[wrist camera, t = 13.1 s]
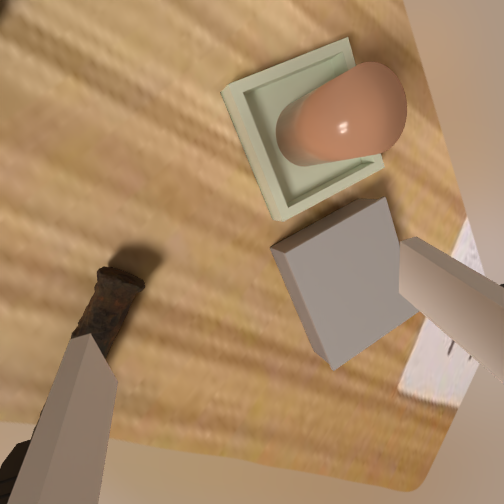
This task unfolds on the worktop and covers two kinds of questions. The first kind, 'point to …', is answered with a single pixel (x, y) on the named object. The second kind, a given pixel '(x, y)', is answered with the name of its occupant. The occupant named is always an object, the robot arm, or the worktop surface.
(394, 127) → the terracotta domed cylinder
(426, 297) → the robot arm
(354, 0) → the worktop surface
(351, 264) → the grey square plinth
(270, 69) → the tray
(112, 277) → the hand tool
